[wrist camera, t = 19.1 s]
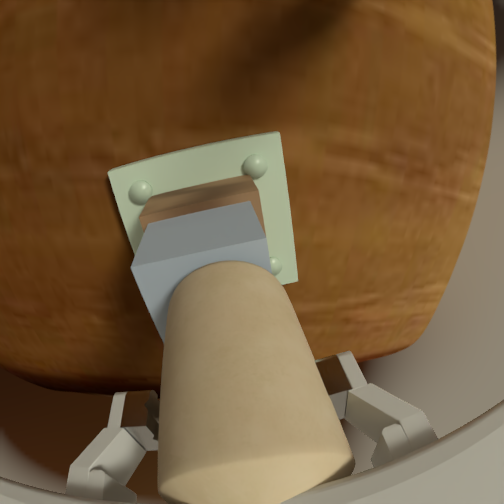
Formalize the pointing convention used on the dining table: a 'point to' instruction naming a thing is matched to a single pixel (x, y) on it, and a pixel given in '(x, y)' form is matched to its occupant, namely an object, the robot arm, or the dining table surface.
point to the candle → (242, 395)
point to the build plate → (208, 170)
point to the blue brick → (194, 251)
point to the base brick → (202, 199)
